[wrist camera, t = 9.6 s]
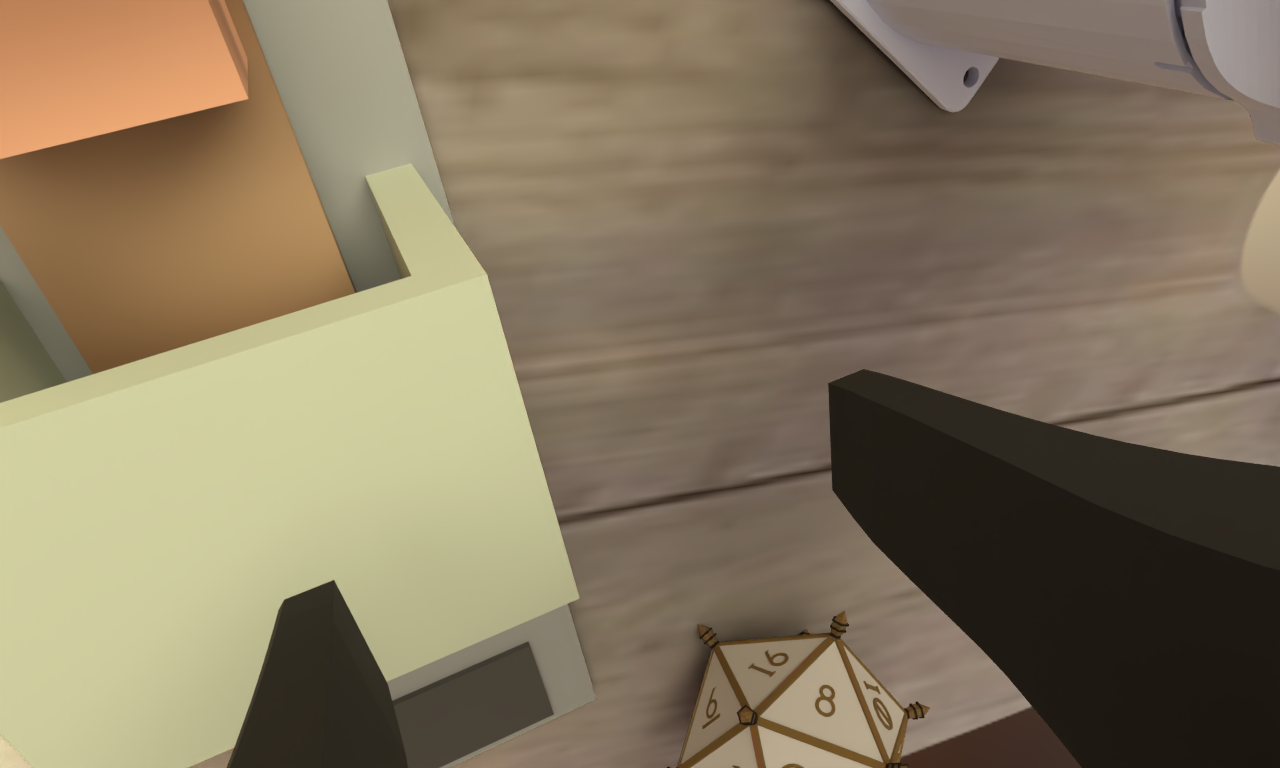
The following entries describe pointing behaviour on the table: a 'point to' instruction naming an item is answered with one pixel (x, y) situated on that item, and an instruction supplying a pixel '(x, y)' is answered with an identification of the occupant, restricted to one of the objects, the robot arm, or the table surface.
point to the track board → (351, 241)
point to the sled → (155, 175)
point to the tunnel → (264, 504)
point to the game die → (793, 706)
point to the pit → (472, 708)
